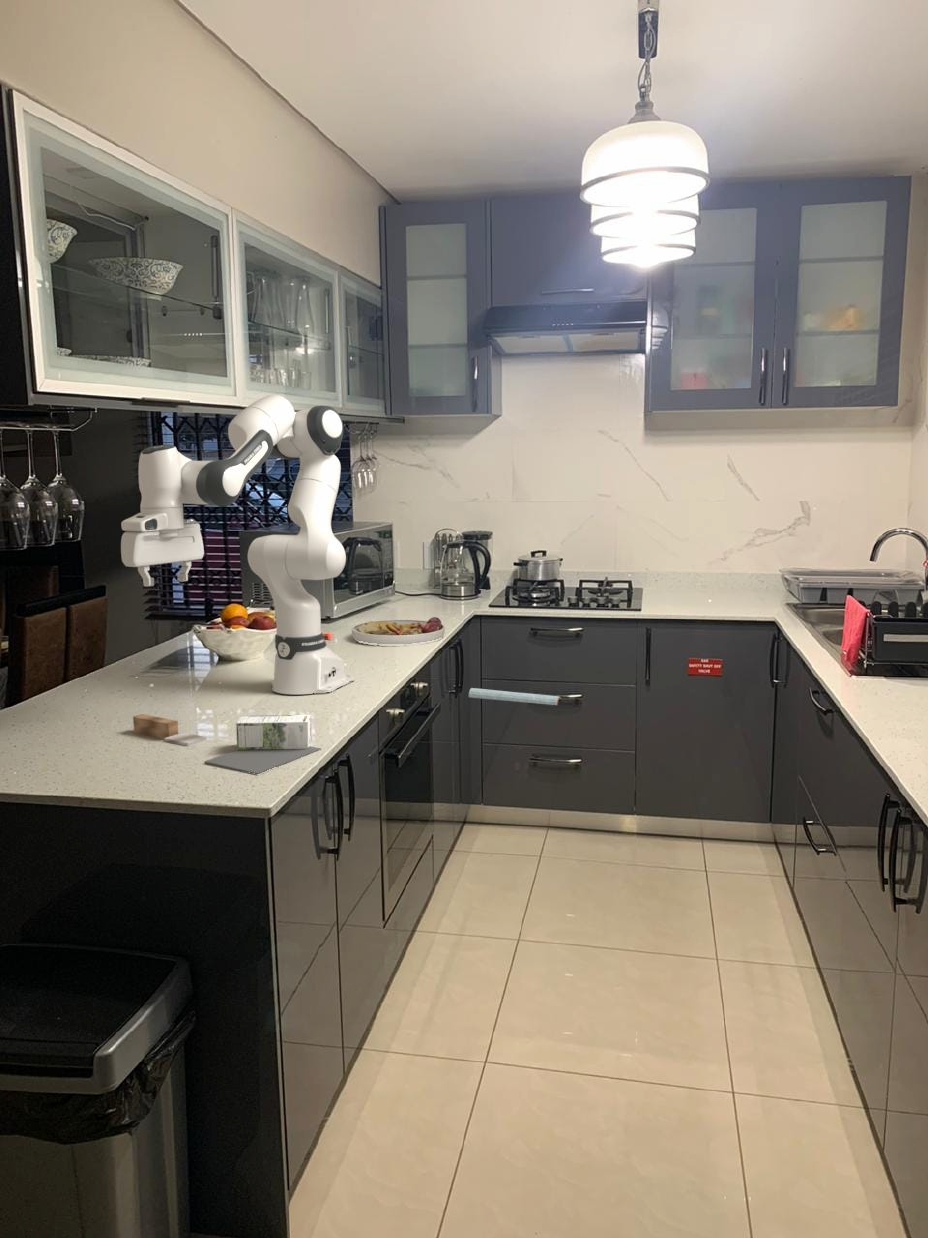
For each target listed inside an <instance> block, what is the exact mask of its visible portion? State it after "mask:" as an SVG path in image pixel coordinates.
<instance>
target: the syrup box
mask: <svg viewBox="0 0 928 1238" xmlns="http://www.w3.org/2000/svg"><path fill="white" fill-rule="evenodd" d="M235 725H236V750H269V749H308V748H309V747H310V746H311V745H312V743H313V741H312V737H313V736H312V735H313V734H312V715H311V714H284V715H283V714H281V715H279V714H278V715H277V714H275V715H273V714H272V715H271V714H270V715H240V717H239V719H237V721H236V724H235Z"/></svg>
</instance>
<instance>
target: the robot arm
mask: <svg viewBox="0 0 928 1238" xmlns="http://www.w3.org/2000/svg"><path fill="white" fill-rule="evenodd" d="M294 409H295V408H294V407H293V405H292V403H291V402H290V401H289V400H288V399H287V398H285V397H284V396H282V395H279V394H270V395H266V396H263V397H261V398H260V399H258V400H256V401H254V402H253V403H251V404H250V405H248V406H247V407H245V408H243V410H241V411H240V412H238V413H237V415H235V417H233V418H232V420H230V423H229V424H228V431H227V432H228V435H227V436H228V440H229V442H230V444H231V446H232V448H233V449H234V451H235V452H234V453H233V454H231V455H230V457H228V458H225V459H216V460H192V459H191V458H190V457H187V456H185V455H183V454H182V453H181V452H180V451H178V449H177V447H176V446H175V445H171V444H161V445H153V446H149V447H145V448H144V449H143V450H141V452H140V455H139V460H138V485H139V486H138V489H139V492H140V493H141V495H140V496H141V501H140V512H138V513H136V514H134V515H133V516H130V517H128V518H126V519H124V520H122V521H121V523H120V525H121V530H122V531H125V532H124V533H122V536H121V540H120V554H121V555H120V556H121V563H123V565H124V566H125V567H130V568H137V571H138V573H139V575H140V576H141V578H142V580H143V581H142V583H143V586H144V587H147V588H148V587H154V586H155V578H154V577H151V575H150V573H149V571H150V566H154V565H155V566H157V565H164V564H173V563H179V566H181V569H180V571H179V572H178V573H177V574H176V576H177V582H179V583H180V582H181V583H183V582H188V580H189V575H188V574H189V571H190V569H191V568H192V561H198V560H202V559H203V558H204V556H205V550H204V549H205V548H204V540H203V536H202V532H201V525H200V523H199V522H198V521H197V520H196V519H194V518H188V519H184V506H183V505H184V504H187V505H189V504H190V505H209V506H217V507H229V506H231V505H232V504H234V503H235V502H236V501H237V499H238V498H239V496H240V495H241V493H242V491H243V489H244V487H245V485H246V483H247V482H248V481H249V479H251V477H252V476H253V475H254V474H255V473H256V472H257V470H259V469H260V468H261V466H263V464H265V462H266V460H268V458H269V457H270V455H271V454H273V455H275V456H276V457H277V458H279V459H283V460H293V459H296V458H299V471H298V474H297V476H296V477H295V479H296V480H295V482H294V485H293V488H292V492H291V495H290V499H289V501H288V505H287V513H288V516H289V518H290V520H291V521H292V522H293V523H295V525H297V526H298V527H300V530H299V533H297V534H270V535H269V534H268V535H263V536H259V537H257V538H255V539H254V540H252V542H251V544H250V545H249V547H248V550H247V562H248V565H249V567H250V570H251V571H252V573H254V574H255V575H257V576H258V577H259V579H261V580H262V582H263V583H264V585H265V586H266V587H267V589H268V591H269V594H270V596H271V598H272V601H273V604H274V610H275V611H274V612H275V623H276V634H275V636H274V637H275V638H274V647H275V650H276V654H275V655H274V656H275V657H274V671H273V673H274V674H273V680H272V681H271V686H272V688H271V690H272V691H273V692H274V693H276V694H277V693H278V694H283V695H310V694H311V695H313V693H314V694H326V693H325V692H330V691H332V692H334V691H333V690H335V689H336V688H338V687H340V686H342V685H344V684H346V683H348V682H349V681H351V680H353V679H354V678H355V676H352V675H349V674H346V666H345V661H344V659H343V657H340V656H339V655H338V654H337V653H336V652H334V651H333V650H332V649H330V648H329V647H328V646H327V642H326V641H328V642H329V641H332V640H333V637H334V636H333V634H332V632H322V620H321V619H322V617H321V616H322V614H321V604H320V602H319V600H318V599H317V598H316V597H315V596H314V595H312V594H310V593H308V592H307V590H306V589H305V587H304V586H303V584H302V580H309V581H323V580H328V579H329V580H330V579H334V578H337V577H338V576H340V574H342V572H343V570H344V569H345V566H346V561H347V556H346V555H347V554H346V551H345V548H344V546H343V544H342V543H341V542H340V540H339V539H338V538H337V537H336V536H335V534H334V533H333V530H332V517H333V512H334V507H335V504H336V499H337V496H338V493H339V487H340V480H341V471H342V469H341V468H342V466H341V462H340V460H339V458H338V457H337V456H336V455H335V454H337V452H338V451H339V450H341V449H340V448H341V445H342V444H341V442H342V439H343V436H344V423H343V419H342V417H341V415H340V413H339V412H338V411H337V410H336V409H335V408H334V407H332V406H329V405H315V406H313V407H311V408H304V409H302V410H299V411H298V410H297V411H295V410H294ZM335 691H336V690H335ZM330 693H331V692H330Z"/></svg>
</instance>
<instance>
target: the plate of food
mask: <svg viewBox="0 0 928 1238" xmlns="http://www.w3.org/2000/svg"><path fill="white" fill-rule="evenodd" d="M445 631H446V627H445V625H444V624H443V623H442V620H441V619H440V618H439V617H436V616H434V617H433V616H432V617H430V618H429V619H428V620H419V619H414V620H413V619H388V620H387V619H386V620H385V619H384V620H376V621H375V620H373V621H372V620H370V621H366V622H363V623H362V622H361V623H359V624H356V625H353V626H352V627H351V634H352V637H353V640H355V639H356V640H358V641H363V642H368V643H377V644H412V643H420V642H427V641H432V640H436V639H439V638H441V637H443V638H444V636H445ZM356 640H355V641H356Z"/></svg>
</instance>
